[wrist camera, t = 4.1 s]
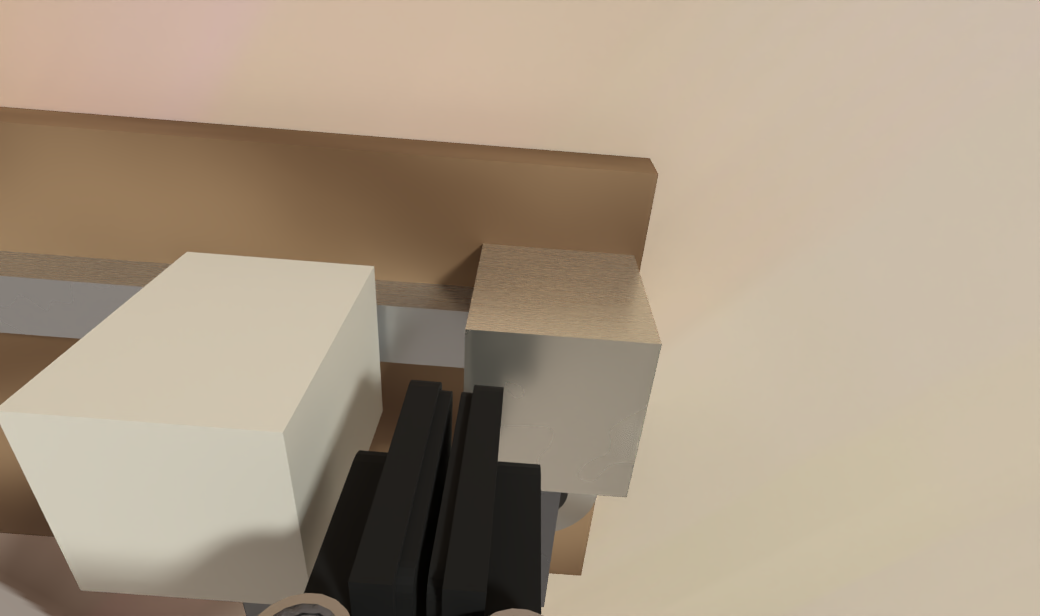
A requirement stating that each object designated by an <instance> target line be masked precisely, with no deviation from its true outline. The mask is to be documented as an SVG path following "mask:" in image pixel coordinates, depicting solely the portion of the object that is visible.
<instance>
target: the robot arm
mask: <svg viewBox="0 0 1040 616" xmlns="http://www.w3.org/2000/svg"><path fill="white" fill-rule="evenodd" d="M503 392H504V387H496V386H483V385H474V388H473V393H470V392H462V393H461V397H460V402H459V408H458V413H457V419H456V424H455V430H454V436H453V441H452V407H453V392H452V391H445V390H442V383H441V382H434V381H421V380H411V381H410V383H409V386H408V389H407V392H406V395H405V399H404V402H403V405H402V408H401V412H400V415H399V418H398V421H397V425H396V428H395V431H394V434H393V438H392V441H391V444H390V447H389V451H388V452H375V451H363V450H359V451H358V452H357V453H356V455H355V458H354V460H353V462H352V465H351V467H350V470H349V473H348V476H347V478H346V481H345V484H344V486H343V489H342V492H341V494H340V497H339V500H338V502H337V505H336V508H335V510H334V513H333V516H332V519H331V521H330V524H329V527H328V529H327V532H326V535H325V537H324V540H323V543H322V545H321V548H320V551H319V554H318V556H317V559H316V562H315V564H314V567H313V570H312V572H311V575H310V578H309V580H308V583H307V586H306V588H305V591H304V593H303V594H298V595H293V596H289V597H286V598H284V599H282V600H280V601H278V602H276V603H274V604H272V605H270V606H269V607H268V608H267V609H265V610H264V611H263V612H262V613H260V614H259V615H258V616H543V615H541V466H540V464H527V463H515V462H502V461H498V453H499V441H500V428H501V416H502V404H503ZM451 444H452V447H451Z"/></svg>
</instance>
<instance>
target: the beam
mask: <svg viewBox="0 0 1040 616" xmlns="http://www.w3.org/2000/svg"><path fill="white" fill-rule="evenodd" d="M170 265H171V264H167V263H154V262H141V261H128V260H115V259H102V258H90V257H77V256H64V255H51V254H38V253H25V252H12V251H0V333H12V334H25V335H38V336H51V337H65V338H78V339H81V338H83V337H84V336H85V335H86V334H87V333H89V332H90V331H91V330H92V329H94V328H95V327H96V326H97V325H98V324H100V323H101V322H102V321H103V320H104V319H106V318H107V317H108V316H109V315H111V314H112V313H113V312H114V311H115V310H117V309H118V308H119V307H120V306H122V305H123V304H124V303H125V302H126V301H128V300H129V299H130V298H131V297H132V296H134V295H135V294H136V293H137V292H139V291H140V290H141V289H142V288H143V287H145V286H146V285H147V284H148V283H149V282H151V281H152V280H153V279H154V278H156V277H157V276H158V275H159V274H160V273H162V272H163V271H164V270H165V269H167V268H168V267H169V266H170ZM375 289H376V305H377V322H378V339H379V356H380V362H392V363H405V364H418V365H431V366H444V367H457V368H464V392H470V393H473V388H474V385H483V386H496V387H504V392H503V404H502V416H501V428H500V441H499V453H498V461H502V462H515V463H527V464H540V466H541V607H544V602H545V596H546V589H547V582H548V576H549V569H550V562H551V555H552V549H553V542H554V535H555V529H556V522H557V515H558V509H559V502H560V495H561V492H562V493H576V494H589V495H602V496H616V497H627V493H628V489H629V485H630V480H631V476H632V472H633V467H634V463H635V458H636V454H637V450H638V445H639V441H640V437H641V432H642V428H643V424H644V419H645V415H646V411H647V406H648V402H649V398H650V393H651V389H652V384H653V380H654V376H655V371H656V367H657V363H658V358H659V354H660V350H661V345H662V343H661V340H660V337H659V334H658V331H657V327H656V324H655V321H654V318H653V315H652V311H651V308H650V305H649V302H648V298H647V295H646V292H645V289H644V286H643V282H642V279H641V276H640V273H639V269H638V266H637V263H636V260H635V257H634V255H624V254H611V253H598V252H585V251H572V250H560V249H547V248H534V247H521V246H508V245H496V244H483V247H482V251H481V256H480V261H479V266H478V271H477V275H476V280H475V285H474V287H464V286H451V285H438V284H425V283H412V282H399V281H386V280H375Z"/></svg>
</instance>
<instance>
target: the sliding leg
mask: <svg viewBox="0 0 1040 616" xmlns="http://www.w3.org/2000/svg"><path fill="white" fill-rule="evenodd" d="M382 411H383V407H382V390H381V373H380V356H379V339H378V322H377V305H376V289H375V272H374V266H365V265H352V264H339V263H326V262H313V261H300V260H287V259H275V258H262V257H249V256H236V255H223V254H210V253H197V252H186V253H185V254H184V255H182V256H181V257H180V258H179V259H177V260H176V261H175V262H174V263H173V264H171V265H170V266H169V267H168V268H167V269H165V270H164V271H163V272H162V273H160V274H159V275H158V276H157V277H156V278H154V279H153V280H152V281H151V282H149V283H148V284H147V285H146V286H145V287H143V288H142V289H141V290H140V291H139V292H137V293H136V294H135V295H134V296H132V297H131V298H130V299H129V300H128V301H126V302H125V303H124V304H123V305H122V306H120V307H119V308H118V309H117V310H115V311H114V312H113V313H112V314H111V315H109V316H108V317H107V318H106V319H104V320H103V321H102V322H101V323H100V324H98V325H97V326H96V327H95V328H94V329H92V330H91V331H90V332H89V333H87V334H86V335H85V336H84V337H83V338H81V339H80V340H79V341H78V342H76V343H75V344H74V345H73V346H72V347H70V348H69V349H68V350H67V351H66V352H64V353H63V354H62V355H61V356H59V357H58V358H57V359H56V360H55V361H53V362H52V363H51V364H50V365H49V366H47V367H46V368H45V369H44V370H42V371H41V372H40V373H39V374H38V375H36V376H35V377H34V378H33V379H31V380H30V381H29V382H28V383H27V384H25V385H24V386H23V387H22V388H21V389H19V390H18V391H17V392H16V393H14V394H13V395H12V396H11V397H10V398H8V399H7V400H6V401H5V402H4V403H2V404H1V405H0V425H1V427H2V429H3V431H4V434H5V436H6V438H7V440H8V442H9V444H10V446H11V448H12V450H13V452H14V454H15V456H16V458H17V460H18V462H19V464H20V466H21V469H22V471H23V473H24V475H25V477H26V479H27V481H28V483H29V485H30V487H31V489H32V491H33V493H34V495H35V497H36V499H37V501H38V504H39V506H40V508H41V510H42V512H43V514H44V516H45V518H46V520H47V522H48V524H49V526H50V528H51V530H52V532H53V534H54V536H55V539H56V541H57V543H58V545H59V547H60V549H61V551H62V553H63V555H64V557H65V559H66V561H67V563H68V565H69V567H70V569H71V571H72V573H73V576H74V578H75V580H76V582H77V584H78V586H79V588H80V590H81V591H94V592H108V593H122V594H135V595H149V596H163V597H176V598H190V599H204V600H217V601H231V602H243V605H244V609H245V613H246V616H258V615H259V614H260V613H262V612H263V611H264V610H265V609H267V608H268V607H269V606H270V605H272V604H274V603H276V602H278V601H280V600H282V599H284V598H286V597H289V596H293V595H298V594H303V593H304V591H305V588H306V586H307V583H308V580H309V578H310V575H311V572H312V570H313V567H314V564H315V562H316V559H317V556H318V554H319V551H320V548H321V545H322V543H323V540H324V537H325V535H326V532H327V529H328V527H329V524H330V521H331V519H332V516H333V513H334V510H335V508H336V505H337V502H338V500H339V497H340V494H341V492H342V489H343V486H344V484H345V481H346V478H347V476H348V473H349V470H350V467H351V465H352V462H353V460H354V458H355V455H356V453H357V452H358V451H359V450H363V451H369V448H370V445H371V443H372V440H373V437H374V434H375V431H376V428H377V426H378V423H379V420H380V417H381V414H382Z"/></svg>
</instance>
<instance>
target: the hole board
mask: <svg viewBox="0 0 1040 616" xmlns="http://www.w3.org/2000/svg"><path fill="white" fill-rule="evenodd" d="M657 178H658V173H657V171H656V169H655V167H654V165H653V163H652V162H651V160H650V158H637V157H625V156H612V155H600V154H587V153H574V152H562V151H549V150H537V149H524V148H511V147H499V146H486V145H474V144H461V143H448V142H436V141H423V140H411V139H398V138H385V137H373V136H360V135H348V134H335V133H323V132H310V131H297V130H285V129H272V128H260V127H247V126H234V125H222V124H209V123H197V122H184V121H171V120H159V119H146V118H134V117H121V116H108V115H96V114H83V113H71V112H58V111H45V110H33V109H20V108H8V107H0V251H12V252H25V253H38V254H51V255H64V256H77V257H90V258H102V259H115V260H128V261H141V262H154V263H167V264H173V263H174V262H175V261H176V260H177V259H179V258H180V257H181V256H182V255H184V254H185V253H186V252H197V253H210V254H223V255H236V256H249V257H262V258H275V259H287V260H300V261H313V262H326V263H339V264H352V265H365V266H374V272H375V280H386V281H399V282H412V283H425V284H438V285H451V286H464V287H474V285H475V280H476V275H477V271H478V266H479V261H480V256H481V251H482V247H483V244H496V245H508V246H521V247H534V248H547V249H560V250H572V251H585V252H598V253H611V254H624V255H634V257H635V260H636V263H637V266H638V269H639V271H640V266H641V261H642V256H643V251H644V245H645V240H646V235H647V230H648V225H649V220H650V214H651V209H652V204H653V199H654V194H655V188H656V183H657ZM79 340H80V339H78V338H65V337H51V336H38V335H25V334H12V333H0V405H1V404H2V403H4V402H5V401H6V400H7V399H8V398H10V397H11V396H12V395H13V394H14V393H16V392H17V391H18V390H19V389H21V388H22V387H23V386H24V385H25V384H27V383H28V382H29V381H30V380H31V379H33V378H34V377H35V376H36V375H38V374H39V373H40V372H41V371H42V370H44V369H45V368H46V367H47V366H49V365H50V364H51V363H52V362H53V361H55V360H56V359H57V358H58V357H59V356H61V355H62V354H63V353H64V352H66V351H67V350H68V349H69V348H70V347H72V346H73V345H74V344H75V343H76V342H78V341H79ZM380 373H381V390H382V407H383V411H382V414H381V417H380V420H379V423H378V426H377V428H376V431H375V434H374V437H373V440H372V443H371V445H370V448H369V451H375V452H388V451H389V447H390V444H391V441H392V438H393V434H394V431H395V428H396V425H397V421H398V418H399V415H400V412H401V408H402V405H403V402H404V399H405V395H406V392H407V389H408V386H409V383H410V381H411V380H421V381H434V382H441V383H442V390H445V391H452V392H453V407H452V441H453V436H454V430H455V424H456V419H457V413H458V408H459V402H460V397H461V393H462V392H464V368H457V367H444V366H431V365H418V364H405V363H392V362H380ZM451 447H452V444H451ZM596 497H597V495H589V494H576V493H562V492H561V495H560V502H559V509H558V515H557V522H556V529H555V535H554V542H553V549H552V555H551V562H550V569H549V573H553V574H567V575H581V572H582V567H583V562H584V557H585V552H586V547H587V541H588V536H589V531H590V526H591V521H592V515H593V510H594V505H595V500H596ZM0 533H12V534H25V535H39V536H52V537H55V536H54V534H53V532H52V530H51V528H50V526H49V524H48V522H47V520H46V518H45V516H44V514H43V512H42V510H41V508H40V506H39V504H38V501H37V499H36V497H35V495H34V493H33V491H32V489H31V487H30V485H29V483H28V481H27V479H26V477H25V475H24V473H23V471H22V469H21V466H20V464H19V462H18V460H17V458H16V456H15V454H14V452H13V450H12V448H11V446H10V444H9V442H8V440H7V438H6V436H5V434H4V431H3V429H2V427H1V425H0Z"/></svg>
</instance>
